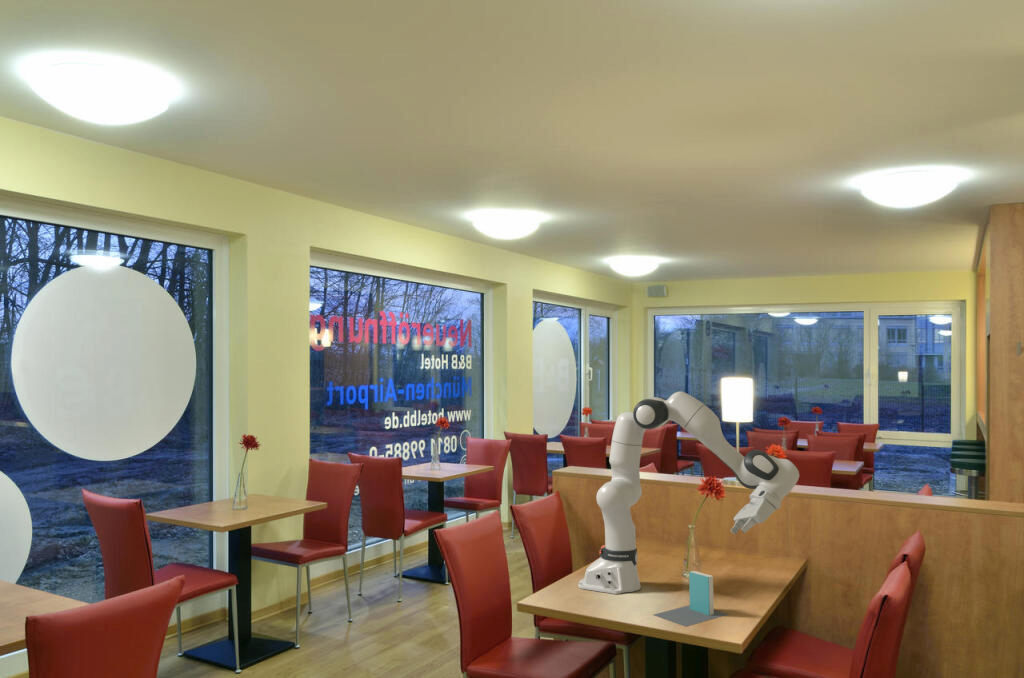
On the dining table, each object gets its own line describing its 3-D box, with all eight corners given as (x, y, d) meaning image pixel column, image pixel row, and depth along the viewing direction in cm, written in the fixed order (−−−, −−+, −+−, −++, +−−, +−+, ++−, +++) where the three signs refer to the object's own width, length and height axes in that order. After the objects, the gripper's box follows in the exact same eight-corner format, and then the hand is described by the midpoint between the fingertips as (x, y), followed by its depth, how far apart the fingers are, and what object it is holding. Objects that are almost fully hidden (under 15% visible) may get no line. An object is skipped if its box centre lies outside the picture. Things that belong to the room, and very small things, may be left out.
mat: (695, 605, 254) (695, 603, 254) (729, 616, 242) (729, 614, 242) (652, 616, 242) (652, 614, 242) (685, 628, 231) (685, 626, 231)
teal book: (694, 607, 249) (693, 570, 250) (713, 614, 243) (712, 576, 243) (689, 609, 248) (689, 571, 248) (709, 615, 241) (708, 577, 242)
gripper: (744, 497, 262) (719, 526, 258) (768, 491, 242) (741, 523, 239) (759, 510, 261) (734, 540, 257) (783, 505, 241) (756, 537, 238)
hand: (737, 531), depth 248 cm, fingers open, 8 cm apart
